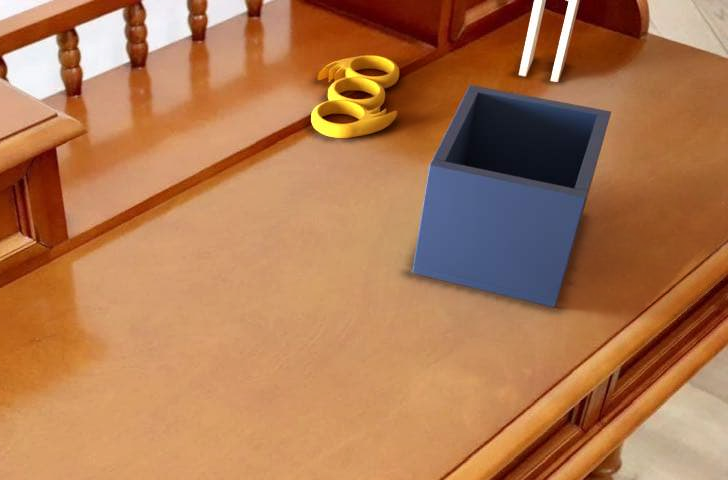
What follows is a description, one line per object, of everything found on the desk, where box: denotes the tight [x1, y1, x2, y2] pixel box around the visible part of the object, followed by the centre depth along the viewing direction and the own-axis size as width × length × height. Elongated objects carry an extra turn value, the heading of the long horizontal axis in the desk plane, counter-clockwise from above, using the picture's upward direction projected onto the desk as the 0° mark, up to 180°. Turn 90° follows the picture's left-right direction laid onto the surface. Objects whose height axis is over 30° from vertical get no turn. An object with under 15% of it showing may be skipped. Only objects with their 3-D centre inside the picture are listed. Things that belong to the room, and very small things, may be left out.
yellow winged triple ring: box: [310, 54, 400, 139], centre depth 115 cm, size 17×2×10 cm
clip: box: [518, 0, 581, 83], centre depth 116 cm, size 4×4×10 cm
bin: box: [412, 84, 612, 308], centre depth 93 cm, size 14×12×11 cm
